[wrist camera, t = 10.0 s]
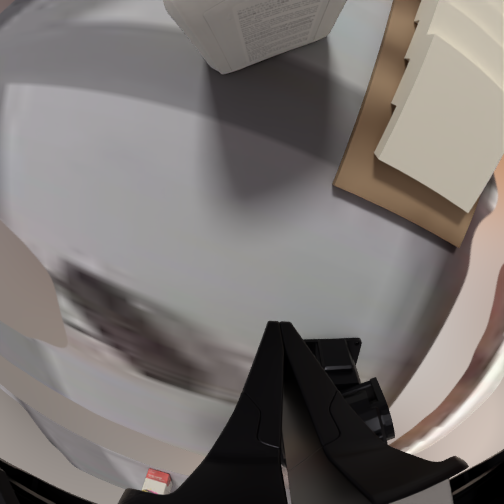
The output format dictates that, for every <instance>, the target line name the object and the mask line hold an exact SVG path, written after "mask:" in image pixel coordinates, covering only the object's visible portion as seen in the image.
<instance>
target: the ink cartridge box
mask: <svg viewBox="0 0 504 504" xmlns="http://www.w3.org/2000/svg"><path fill="white" fill-rule="evenodd" d="M171 488H172V482H171V478H170V475H169V474H167V473H163V472H160V471H157V470H154V469H151V468H149V470H148V473H147V476H146V479H145V482H144V485H143V488H142V491H146V492H150V493H155V494H163V495H165V494H170V491H171Z"/></svg>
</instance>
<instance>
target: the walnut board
mask: <svg viewBox="0 0 504 504" xmlns="http://www.w3.org/2000/svg"><path fill="white" fill-rule="evenodd" d="M420 3H421V0H393V3H392V7H391V11H390V15H389V18H388V22H387V25H386V29H385V33H384V36H383V39H382V43H381V46H380V50H379V53H378V56H377V59H376V63H375V66H374V69H373V72H372V75H371V78H370V81H369V84H368V88H367V91H366V94H365V97H364V99H363V102H362V105H361V108H360V111H359V114H358V117H357V120H356V123H355V125H354V128H353V131H352V134H351V136H350V139H349V142H348V145H347V147H346V150H345V153H344V155H343V158H342V161H341V163H340V166H339V168H338V171H337V174H336V176H335V179H334V181H333V185H334V186H337V187H339V188H341V189H344V190H346V191H348V192H350V193H353V194H355V195H357V196H359V197H362V198H364V199H366V200H368V201H370V202H372V203H375V204H377V205H379V206H381V207H383V208H385V209H387V210H389V211H391V212H393V213H395V214H397V215H399V216H401V217H403V218H405V219H407V220H409V221H411V222H413V223H415V224H417V225H419V226H421V227H422V228H424V229H426V230H428V231H430V232H432V233H433V234H435V235H437V236H439V237H441V238H442V239H444V240H446V241H448V242H449V243H451V244H453V245H455V246H456V247H458V248H459V247H460V245H461V243H462V241H463V238H464V236H465V234H466V231H467V229H468V227H469V224H470V222H471V219H472V217H473V214H474V212H475V209H476V206H477V204H478V201H479V198H480V196H479V197H478V199H477V200H476V202H475V204H474V205H473V207H472V208H471V210H470V211H469V213H467V212H466V211H464V210H463V209H461V208H460V207H458V206H457V205H455V204H454V203H452V202H451V201H449V200H448V199H446V198H445V197H443V196H442V195H440V194H439V193H437V192H435V191H434V190H432V189H431V188H429V187H427V186H426V185H424V184H422V183H421V182H419V181H417V180H416V179H414V178H412V177H410V176H409V175H407V174H405V173H403V172H401V171H400V170H398V169H396V168H394V167H392V166H390V165H388V164H387V163H385V162H383V161H381V160H379V159H378V158H377V157H376V155H375V154H374V152H375V150H376V148H377V146H378V144H379V142H380V140H381V138H382V136H383V133H384V131H385V129H386V127H387V125H388V123H389V121H390V119H391V117H392V115H393V112H394V110H395V108H396V105H394V104H392V103H391V102H392V100H393V98H394V95H395V93H396V91H397V89H398V86H399V84H400V82H401V79H402V77H403V75H404V72H405V70H406V68H407V65H408V63H409V61H408V60H406V59H404V58H405V55H406V53H407V50H408V48H409V45H410V43H411V40H412V38H413V35H414V33H415V30H416V28H417V25H418V24H417V23H415V22H414V19H415V17H416V14H417V11H418V8H419V6H420ZM480 195H481V194H480Z"/></svg>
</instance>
